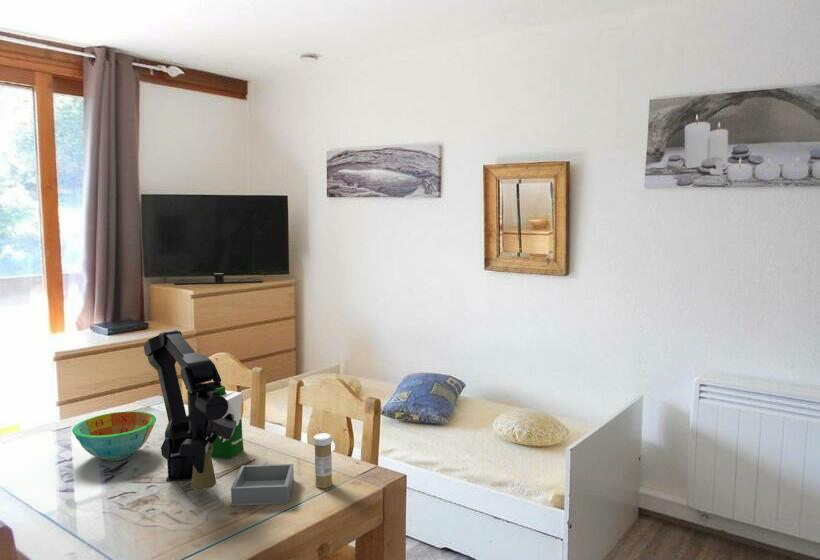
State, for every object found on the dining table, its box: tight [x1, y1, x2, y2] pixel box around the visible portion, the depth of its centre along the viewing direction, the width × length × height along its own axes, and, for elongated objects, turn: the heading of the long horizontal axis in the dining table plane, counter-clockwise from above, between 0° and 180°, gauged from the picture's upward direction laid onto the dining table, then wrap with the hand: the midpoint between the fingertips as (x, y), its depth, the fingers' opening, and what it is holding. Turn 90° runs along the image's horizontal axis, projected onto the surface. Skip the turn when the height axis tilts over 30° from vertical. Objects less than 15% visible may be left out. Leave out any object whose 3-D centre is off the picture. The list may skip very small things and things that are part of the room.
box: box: [230, 463, 295, 507], centre depth 162 cm, size 14×14×4 cm
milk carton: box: [211, 384, 245, 460], centre depth 187 cm, size 9×9×20 cm
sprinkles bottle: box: [313, 432, 333, 489], centre depth 166 cm, size 5×5×13 cm
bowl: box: [71, 410, 157, 462], centre depth 186 cm, size 22×22×10 cm
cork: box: [190, 442, 217, 490], centre depth 161 cm, size 6×6×11 cm
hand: (203, 469), depth 161 cm, fingers closed on cork, 4 cm apart
